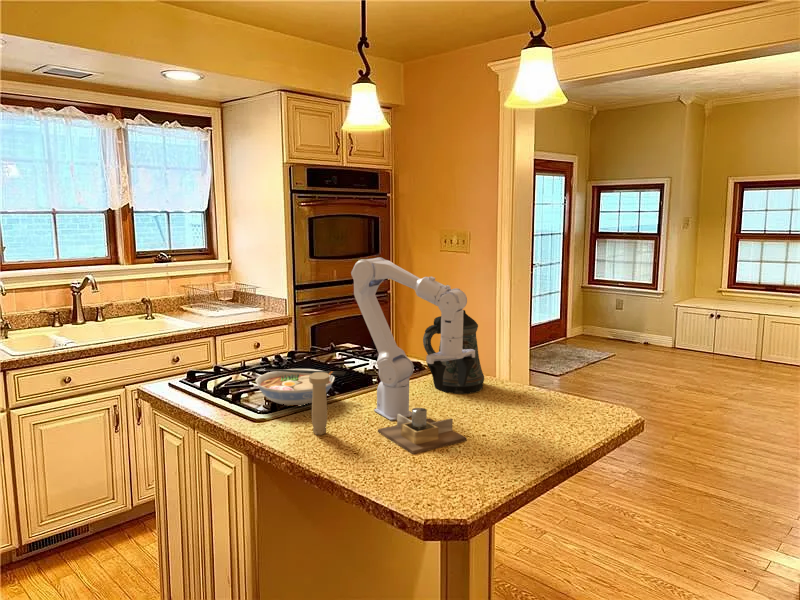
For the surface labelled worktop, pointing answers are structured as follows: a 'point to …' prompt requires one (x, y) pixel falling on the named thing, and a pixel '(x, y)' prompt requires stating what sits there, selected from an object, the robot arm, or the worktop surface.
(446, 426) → the hinge block
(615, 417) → the worktop surface
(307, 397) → the ramen bowl
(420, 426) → the hinge pin
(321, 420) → the handle
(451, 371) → the beer stein
